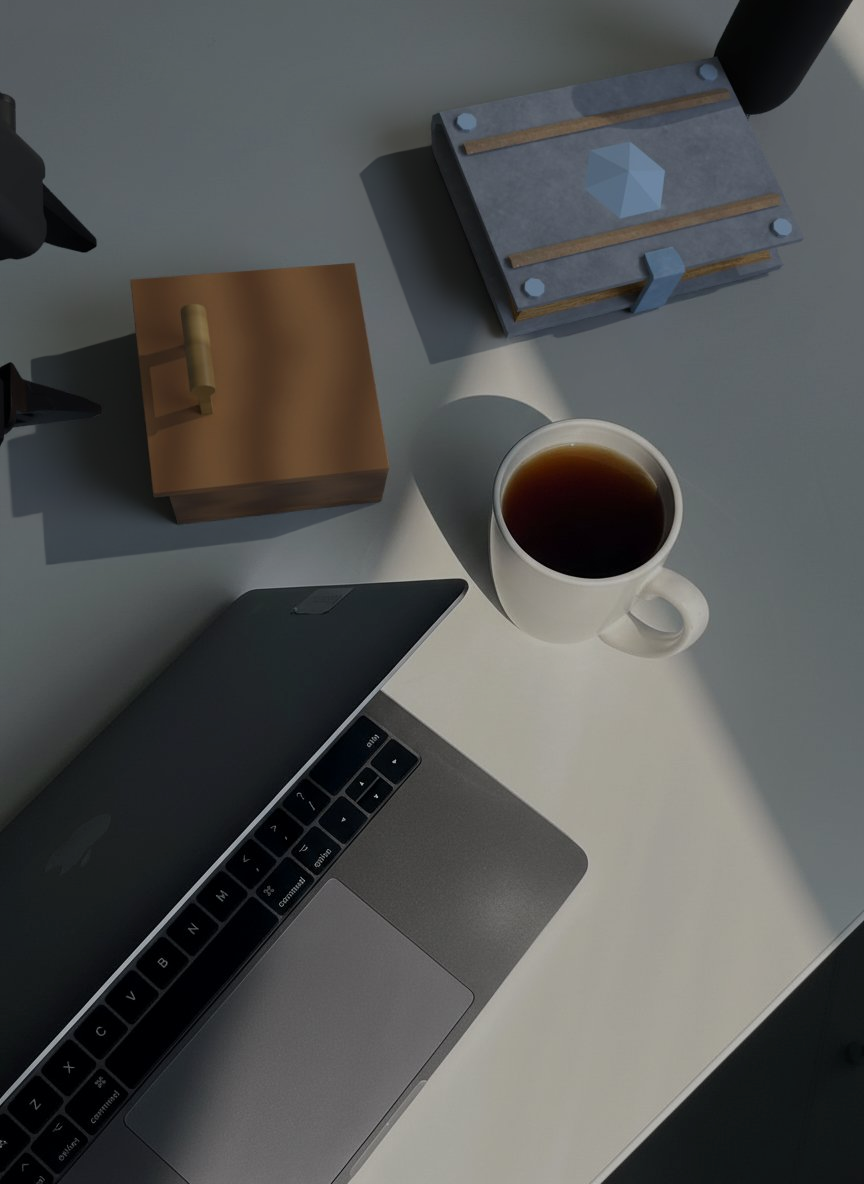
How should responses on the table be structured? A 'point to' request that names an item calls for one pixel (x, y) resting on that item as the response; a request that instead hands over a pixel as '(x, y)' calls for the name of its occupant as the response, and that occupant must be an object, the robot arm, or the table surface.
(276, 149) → the table surface
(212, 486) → the lid
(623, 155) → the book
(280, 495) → the chest
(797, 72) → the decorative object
